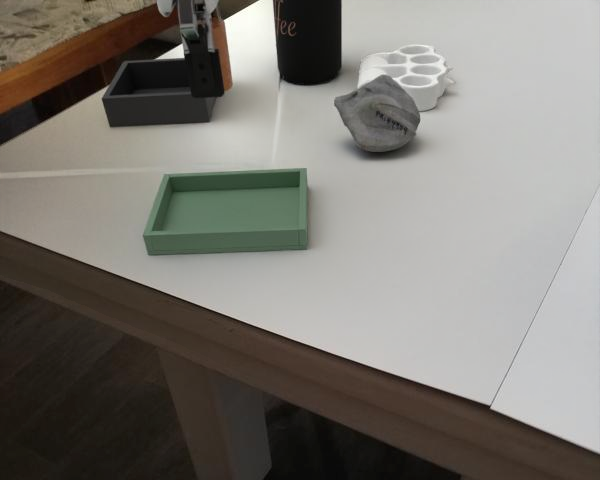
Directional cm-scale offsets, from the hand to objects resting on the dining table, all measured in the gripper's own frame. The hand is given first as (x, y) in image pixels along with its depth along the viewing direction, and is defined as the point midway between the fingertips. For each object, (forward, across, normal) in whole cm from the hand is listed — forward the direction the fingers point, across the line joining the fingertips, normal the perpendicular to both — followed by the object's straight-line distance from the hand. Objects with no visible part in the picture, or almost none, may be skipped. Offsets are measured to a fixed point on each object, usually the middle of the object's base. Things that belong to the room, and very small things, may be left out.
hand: (211, 84), depth 59 cm
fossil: (+15, -17, +18) cm, 29 cm away
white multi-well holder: (+15, -36, +24) cm, 46 cm away
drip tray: (+15, 0, 0) cm, 15 cm away
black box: (+15, -32, -13) cm, 37 cm away
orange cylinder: (0, 0, 0) cm, 0 cm away
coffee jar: (+15, -44, +9) cm, 47 cm away
